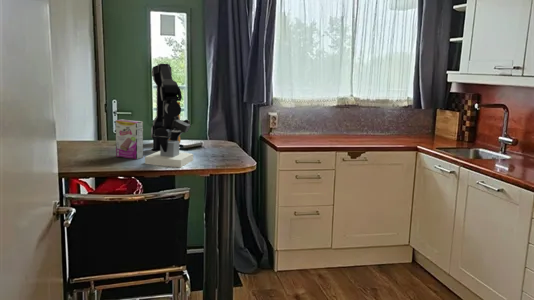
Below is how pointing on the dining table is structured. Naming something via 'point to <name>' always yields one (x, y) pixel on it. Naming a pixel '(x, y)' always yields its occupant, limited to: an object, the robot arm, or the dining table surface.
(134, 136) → the candy bar box
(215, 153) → the dining table surface
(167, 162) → the base block
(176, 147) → the grey cube
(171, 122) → the robot arm
